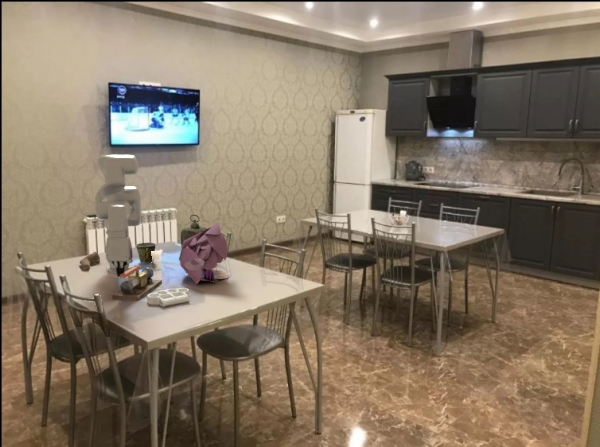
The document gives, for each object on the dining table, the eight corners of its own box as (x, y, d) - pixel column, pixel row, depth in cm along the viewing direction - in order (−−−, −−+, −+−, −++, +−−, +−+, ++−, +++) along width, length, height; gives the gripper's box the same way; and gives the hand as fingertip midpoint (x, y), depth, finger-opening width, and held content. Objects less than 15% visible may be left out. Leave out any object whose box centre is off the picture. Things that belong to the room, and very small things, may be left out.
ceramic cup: (135, 261, 269) (135, 243, 267) (154, 259, 273) (154, 241, 271) (138, 267, 257) (138, 248, 255) (158, 265, 261) (157, 247, 260)
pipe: (80, 262, 248) (101, 257, 252) (77, 254, 262) (97, 250, 266) (83, 274, 249) (103, 268, 254) (80, 266, 264) (100, 261, 268)
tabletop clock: (210, 258, 276) (209, 215, 271) (199, 262, 268) (197, 217, 264) (191, 255, 283) (190, 212, 279) (180, 258, 276) (178, 214, 271)
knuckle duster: (155, 310, 198) (143, 300, 209) (197, 301, 208) (183, 292, 220) (155, 302, 197) (142, 292, 209) (196, 294, 207) (182, 285, 219)
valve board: (137, 281, 233) (137, 278, 232) (161, 283, 231) (161, 280, 231) (111, 298, 209) (111, 295, 209) (138, 300, 208) (138, 296, 207)
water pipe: (142, 279, 231) (141, 262, 229) (154, 280, 230) (154, 263, 229) (119, 294, 210) (118, 276, 208) (132, 295, 209) (131, 276, 207)
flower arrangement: (241, 291, 237) (254, 235, 233) (197, 291, 221) (210, 231, 217) (206, 268, 263) (217, 217, 259) (165, 266, 247) (176, 212, 243)
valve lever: (119, 277, 205) (119, 274, 205) (135, 267, 220) (135, 264, 220) (125, 278, 204) (125, 275, 204) (141, 268, 220) (141, 265, 219)
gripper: (96, 235, 203) (99, 277, 206) (131, 236, 201) (133, 279, 205) (105, 231, 210) (108, 272, 214) (139, 232, 208) (141, 274, 212)
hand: (120, 275), depth 209 cm, fingers closed
